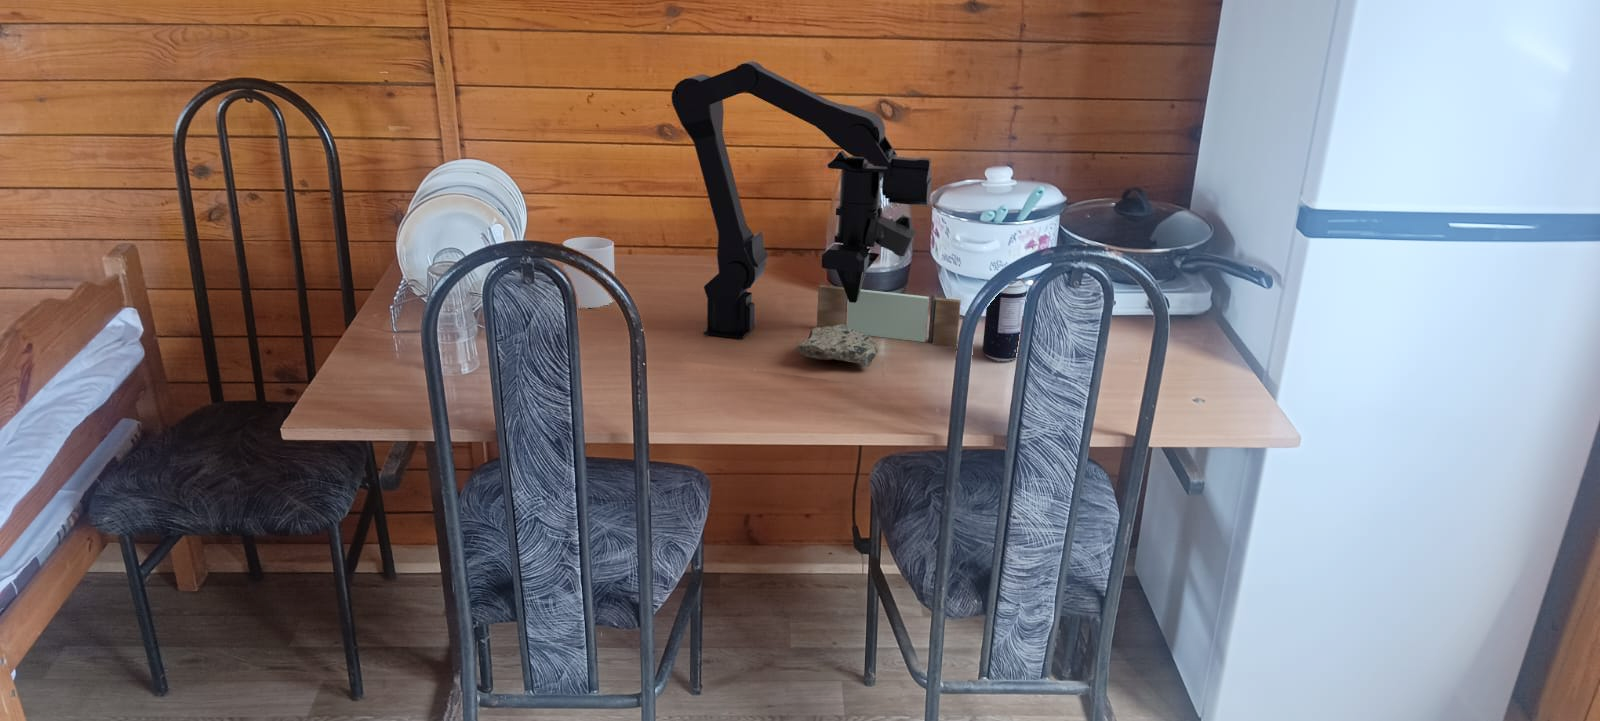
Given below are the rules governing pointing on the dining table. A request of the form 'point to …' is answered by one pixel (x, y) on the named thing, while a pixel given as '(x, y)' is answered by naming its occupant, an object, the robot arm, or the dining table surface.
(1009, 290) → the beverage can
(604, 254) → the mug
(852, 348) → the rock
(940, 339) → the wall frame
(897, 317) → the door
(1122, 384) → the dining table surface
